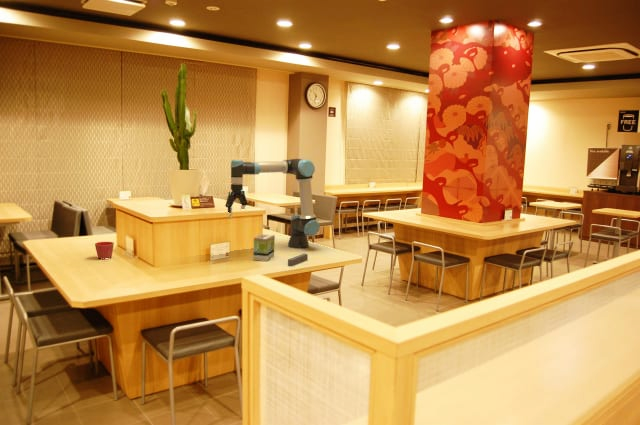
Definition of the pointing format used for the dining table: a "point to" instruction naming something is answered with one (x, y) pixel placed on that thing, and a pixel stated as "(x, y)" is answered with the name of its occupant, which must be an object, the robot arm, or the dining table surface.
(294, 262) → the rail
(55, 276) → the dining table surface
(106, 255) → the flower pot
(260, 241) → the tea box
